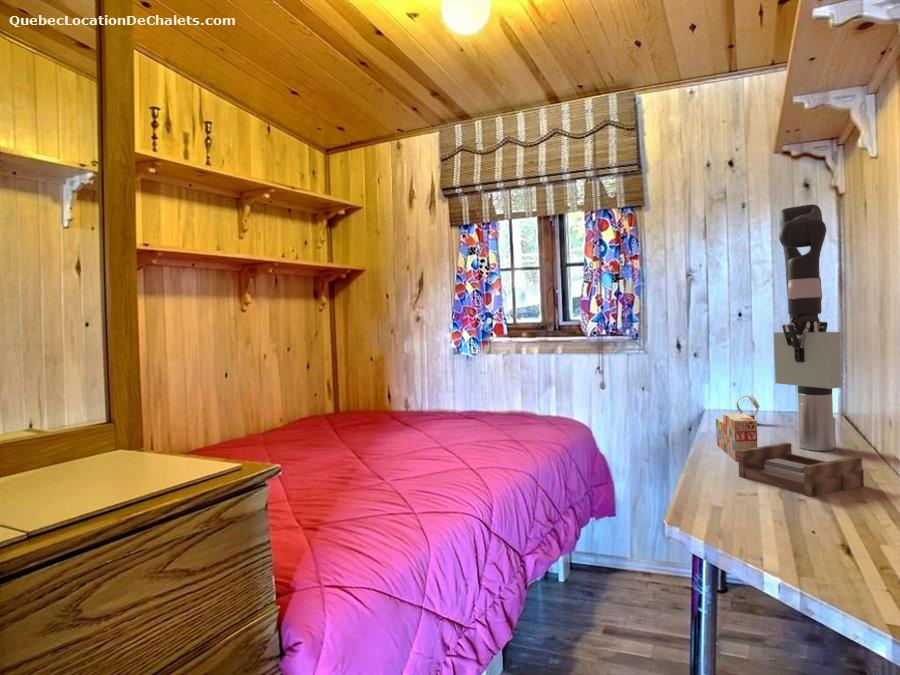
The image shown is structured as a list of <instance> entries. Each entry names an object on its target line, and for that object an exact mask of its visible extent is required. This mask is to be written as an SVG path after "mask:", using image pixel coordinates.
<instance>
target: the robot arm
mask: <svg viewBox="0 0 900 675" xmlns="http://www.w3.org/2000/svg"><path fill="white" fill-rule="evenodd" d="M821 210H822V209H821V208H820V207H819V205H817V204H806V205H799V206H793V207H792V206H791V207H785V208H783V209H782V210H781V211H780V213H779V231H778V240H779V242H780V245H781V246H782V248H783V253H784V254H783V255H784V264H785V280H786V282H785V285H786V296H787V297H786V298H787V307H788V308H787V310H788V312H787V313H788V315H789V323H787V324H785V323H784V324H782V326H781V327H782V332H784V335H785V338H786V341H787V345H788V346H792V347H793V348H794V354H795V355H794V356H795V361H796V362H801V363H802V362H804V361H805V360H804V348H803V347H804V340H805V339H806V335H805V334H806V333H808V332H827V330H828V325H829V324H828V322H827V321H820V318H819V315H820V314H821V313H822V299H823V293H822V292H823V290H822V280H821V277H820V257H821V252H822V248H823V244H824V243H825V238H826V234H827V225H826V223H825V222H824V221H823V215H822V211H821ZM807 247H810V249H809V251H807V253H805V254H802V253H801V252H800V250H799V248H807ZM796 333H797V334H798V335H801V336H797V335H796ZM791 338H792V339H793V341H791ZM798 339H800V342H798ZM833 404H834V403H833V388H832V389H828V388H818V387H808V386H797V410H798V414H797V415H798V417H797V418H798V446H799V448H800V449H803V450H807V451H808V450H809V451H816V452H817V451H818V452H820V451H821V452H823V451H825V452H826V451H827V452H828V451H833V450H834V449H836V448H837V443H836V436H837V435H836V418H835V417H834V410H833V409H834V407H833V406H834V405H833Z"/></svg>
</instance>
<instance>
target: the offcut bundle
mask: <svg viewBox="0 0 900 675" xmlns="http://www.w3.org/2000/svg"><path fill="white" fill-rule="evenodd" d="M804 466H806V465H805V464H801V463H796V462H791V461H787V460H782V459H777V458H775V459H770V460H765V465H764V468H765V469H764V470H762V471H765V472H769V473H773V474H777V475H781V476H784V477H788V478H792V479H796V480H800V481H803V482H804Z"/></svg>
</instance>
